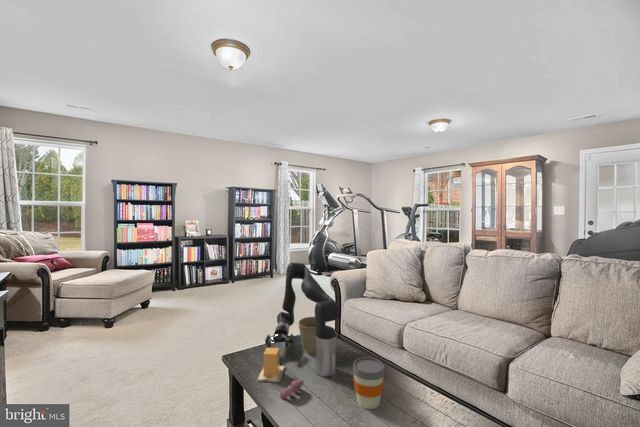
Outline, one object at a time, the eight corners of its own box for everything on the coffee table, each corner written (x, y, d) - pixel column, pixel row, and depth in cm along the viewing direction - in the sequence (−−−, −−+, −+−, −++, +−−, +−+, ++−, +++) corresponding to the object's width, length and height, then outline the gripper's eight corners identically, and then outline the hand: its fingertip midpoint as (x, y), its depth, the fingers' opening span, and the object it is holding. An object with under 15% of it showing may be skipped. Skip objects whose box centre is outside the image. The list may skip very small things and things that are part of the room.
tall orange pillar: (279, 368, 143) (279, 348, 143) (276, 376, 137) (276, 354, 137) (266, 368, 143) (266, 347, 143) (263, 375, 137) (263, 353, 137)
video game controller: (285, 404, 121) (291, 392, 119) (278, 395, 123) (284, 383, 121) (301, 392, 129) (307, 380, 127) (294, 384, 131) (299, 372, 129)
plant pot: (297, 345, 170) (297, 317, 170) (323, 344, 171) (324, 316, 171) (298, 358, 155) (299, 327, 155) (327, 357, 157) (327, 326, 156)
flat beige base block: (284, 367, 146) (284, 355, 146) (279, 382, 134) (279, 368, 134) (264, 367, 146) (264, 354, 146) (257, 381, 134) (257, 368, 134)
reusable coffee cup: (351, 391, 127) (351, 356, 127) (381, 392, 127) (381, 357, 127) (354, 411, 115) (354, 372, 115) (387, 412, 114) (387, 373, 114)
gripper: (268, 325, 167) (262, 339, 151) (294, 324, 167) (291, 338, 151) (269, 338, 168) (263, 354, 152) (295, 337, 167) (292, 353, 151)
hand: (277, 346), depth 151 cm, fingers open, 8 cm apart
